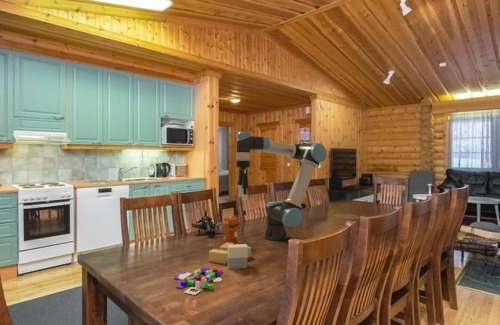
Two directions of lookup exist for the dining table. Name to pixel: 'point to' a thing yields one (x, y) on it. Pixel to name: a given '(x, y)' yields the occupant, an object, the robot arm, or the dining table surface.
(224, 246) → the terracotta brick
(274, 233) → the robot arm
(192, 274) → the building block set
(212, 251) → the ochre brick
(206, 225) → the airplane toy
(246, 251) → the cream brick
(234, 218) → the orange lumpy upright piece
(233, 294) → the dining table surface
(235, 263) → the slate brick
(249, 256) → the sage brick
